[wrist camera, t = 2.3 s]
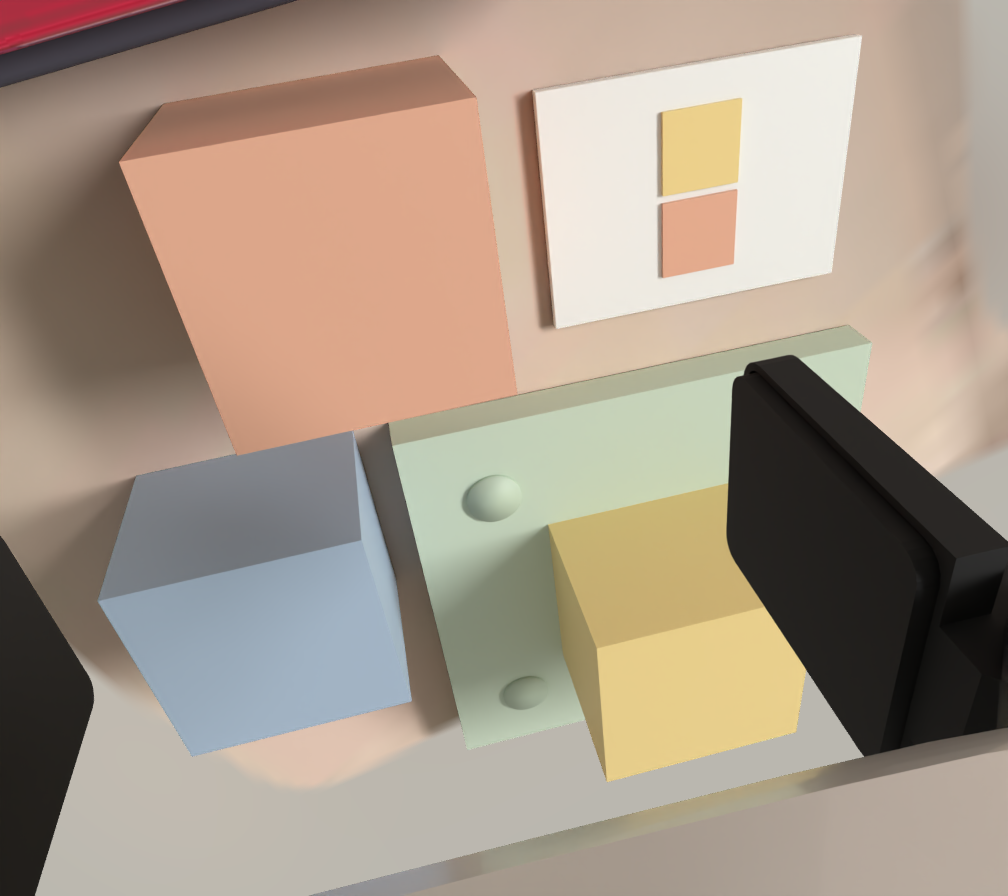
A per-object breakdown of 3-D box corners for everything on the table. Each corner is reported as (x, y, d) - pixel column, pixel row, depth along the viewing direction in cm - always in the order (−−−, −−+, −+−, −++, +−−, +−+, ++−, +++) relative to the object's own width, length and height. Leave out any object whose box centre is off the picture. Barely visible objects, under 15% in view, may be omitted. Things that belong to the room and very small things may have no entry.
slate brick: (136, 473, 22) (97, 601, 18) (351, 426, 22) (361, 540, 18) (210, 620, 25) (192, 756, 21) (395, 577, 26) (411, 701, 22)
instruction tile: (532, 90, 18) (536, 93, 18) (854, 33, 19) (864, 36, 19) (553, 324, 22) (557, 330, 21) (825, 268, 22) (833, 274, 22)
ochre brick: (548, 524, 24) (596, 648, 20) (733, 481, 25) (817, 593, 21) (562, 654, 28) (607, 782, 23) (725, 613, 28) (796, 732, 24)
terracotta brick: (164, 102, 17) (118, 161, 13) (437, 54, 18) (476, 97, 13) (251, 347, 20) (236, 455, 16) (477, 301, 21) (517, 394, 17)
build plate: (388, 422, 22) (392, 449, 21) (848, 324, 24) (875, 344, 23) (462, 723, 30) (468, 753, 29) (802, 637, 32) (820, 663, 31)
